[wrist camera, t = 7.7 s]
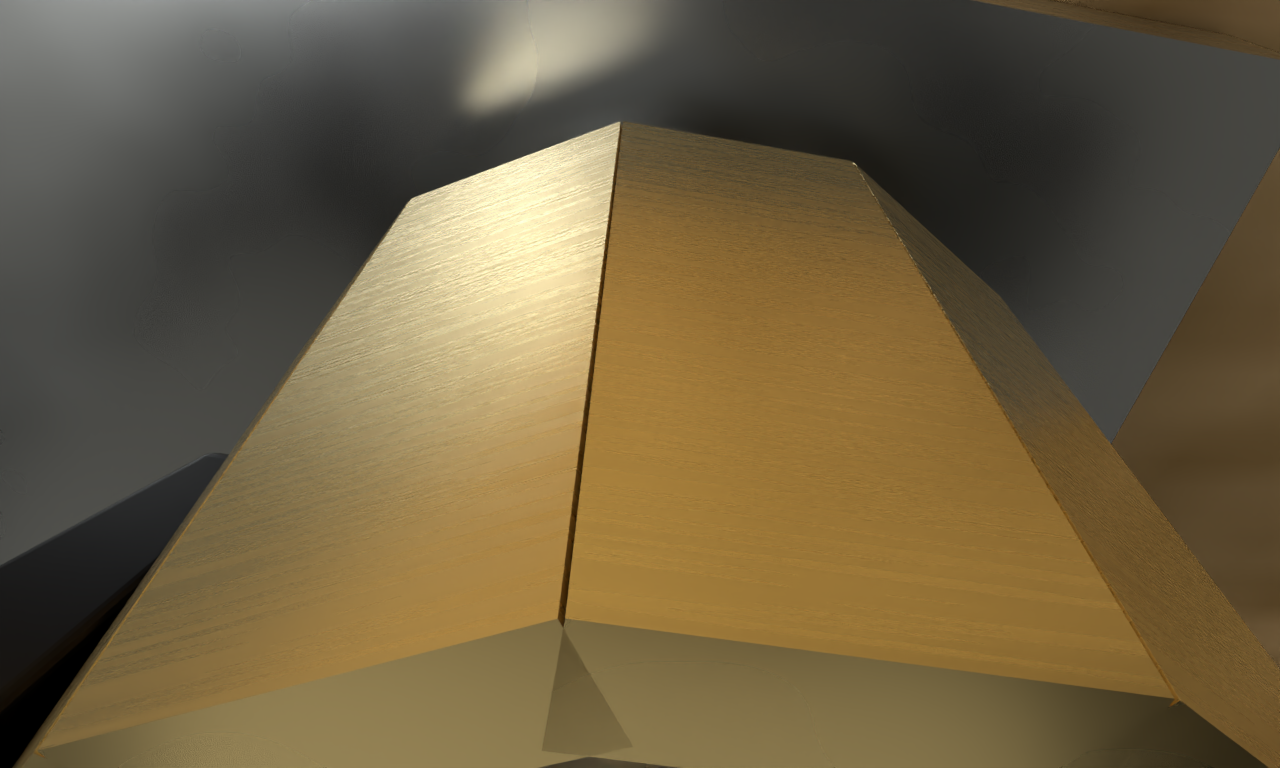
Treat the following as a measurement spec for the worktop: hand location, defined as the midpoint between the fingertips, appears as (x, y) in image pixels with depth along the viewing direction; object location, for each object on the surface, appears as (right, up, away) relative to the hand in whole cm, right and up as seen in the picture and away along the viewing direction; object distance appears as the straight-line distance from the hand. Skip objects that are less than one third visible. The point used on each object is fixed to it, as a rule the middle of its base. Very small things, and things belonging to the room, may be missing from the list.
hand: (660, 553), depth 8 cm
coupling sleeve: (0, +1, +1) cm, 1 cm away
